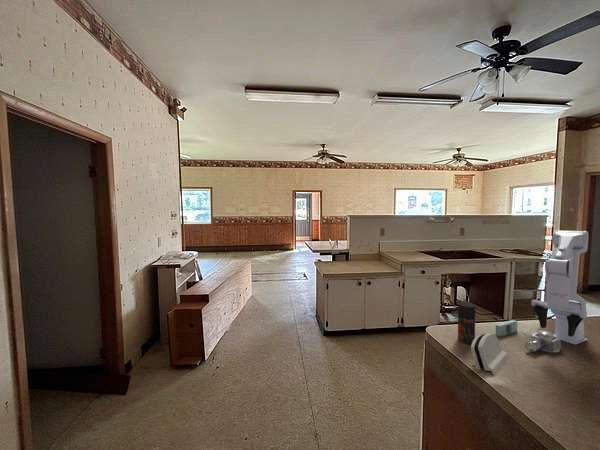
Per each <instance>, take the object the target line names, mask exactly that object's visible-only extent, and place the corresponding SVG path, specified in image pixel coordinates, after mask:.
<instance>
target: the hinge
mask: <svg viewBox="0 0 600 450" xmlns="http://www.w3.org/2000/svg"><path fill="white" fill-rule="evenodd" d="M470 351H471V354H472V358H473V361H474V363H475V368H476V370H478V371H482V370H484V371H486V372H488V371H491V373H492V376H493V377H494V376H496V375H497V374H498V373H499V371H500V370H501V369H502V368H503V366H504V365H505V364H506V363H507V361H508V360H509V359H510V357H509V355H508V352H507V351H505V350H503V348H502V345H501V343H500V341H499V339H498V336H497V335H496V334H495V333H494V334H493V333H482V334H478V335H477V336H475V339H474V340H473V342H472V345H471V346H470Z"/></svg>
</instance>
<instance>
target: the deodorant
mask: <svg viewBox="0 0 600 450" xmlns="http://www.w3.org/2000/svg"><path fill="white" fill-rule="evenodd" d="M475 338H476V305H475V304H474V303H471V302H468V301H467V302H465V301H460V302H458V303H457V341H458V342H459V343H461V344H464V345H468V346H469V345H472V342H473V340H474V339H475Z"/></svg>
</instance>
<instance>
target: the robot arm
mask: <svg viewBox="0 0 600 450" xmlns="http://www.w3.org/2000/svg"><path fill="white" fill-rule="evenodd" d="M552 243H553V247H554V249H553V250H552V252H551V255H550V258H549V259H546V260H545V263H544V271H545V280H546V301H543V300H537V299H532V300H531V306H532V307H533V308H532V309H533V311H534V313H535V315H536V316H537V319H538V322H539V325H540V328H542V329H545V328H547V325H548V323H547V322H548V321H547V319H548V314H549V313H548V312H549V311H550V312H551V313H552V315H554V317H555V330H554V331H555V333H553V334H554V336H556V337H559V338H560V339H561V341H563V342H565V343H569V344H572V345H578V344H582V343H583V342H586V341H588V338H585V322H584V320H585V319H586V318H588V311H587V301H586V300H585V299H584V297H581V296H580V295H579V294H578V293H577V290H578V275H579V274H578V273H579V271H578V270H579V259H580V256H581V254H583V253H587V251H588V248H589V232H588V231H587V230H558V229H555V230H554V231H553V233H552Z"/></svg>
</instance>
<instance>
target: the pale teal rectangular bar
mask: <svg viewBox="0 0 600 450" xmlns="http://www.w3.org/2000/svg"><path fill="white" fill-rule="evenodd" d="M516 332H518V321H517V320H514V319H511V320H507V321H504V322H501V323H497V324H495V335H496V336H497V337H499V336H500V337H503V336H506V334H507V335H509V334H512V333H516ZM502 335H503V336H502Z"/></svg>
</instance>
